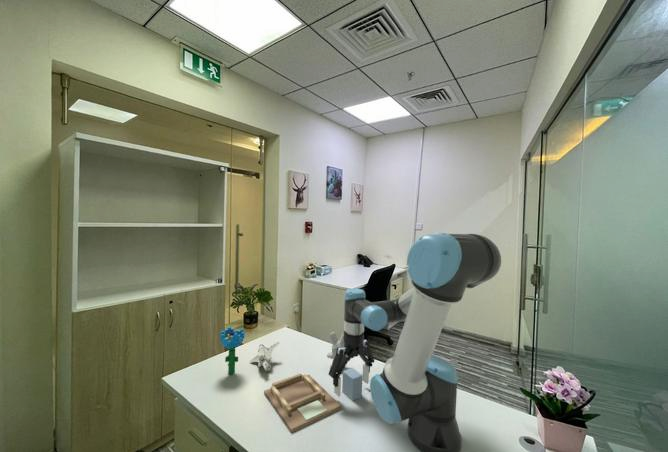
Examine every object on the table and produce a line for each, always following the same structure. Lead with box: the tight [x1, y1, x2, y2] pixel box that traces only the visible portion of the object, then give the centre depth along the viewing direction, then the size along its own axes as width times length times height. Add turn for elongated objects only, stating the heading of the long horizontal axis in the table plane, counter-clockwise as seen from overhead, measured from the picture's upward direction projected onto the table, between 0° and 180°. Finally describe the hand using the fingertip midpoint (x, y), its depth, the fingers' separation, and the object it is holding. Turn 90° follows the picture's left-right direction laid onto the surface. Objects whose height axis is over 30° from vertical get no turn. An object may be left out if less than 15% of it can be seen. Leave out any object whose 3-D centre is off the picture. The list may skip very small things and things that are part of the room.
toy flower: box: [219, 326, 245, 376], centre depth 111 cm, size 9×9×18 cm
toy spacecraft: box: [249, 341, 280, 372], centre depth 115 cm, size 8×15×15 cm
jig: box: [263, 373, 342, 434], centre depth 95 cm, size 22×19×3 cm
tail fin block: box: [341, 367, 363, 402], centre depth 100 cm, size 6×4×8 cm
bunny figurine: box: [326, 331, 348, 364], centre depth 118 cm, size 10×5×15 cm, turn 78°
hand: (351, 387), depth 100 cm, fingers open, 13 cm apart
